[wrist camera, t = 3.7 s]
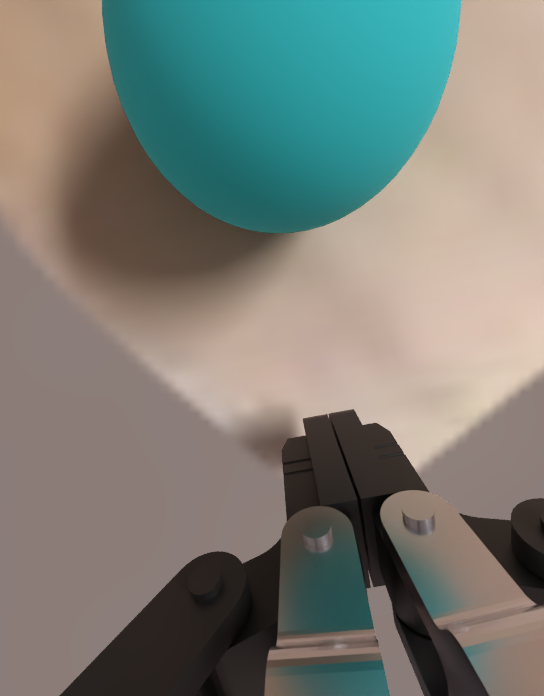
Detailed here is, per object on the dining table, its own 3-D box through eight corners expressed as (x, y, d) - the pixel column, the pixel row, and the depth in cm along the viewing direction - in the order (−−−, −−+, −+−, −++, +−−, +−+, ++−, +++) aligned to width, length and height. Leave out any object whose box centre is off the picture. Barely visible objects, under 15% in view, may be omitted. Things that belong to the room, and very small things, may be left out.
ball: (140, 193, 10) (-32, 127, 4) (196, -66, 8) (41, -754, 3) (337, 264, 11) (421, 289, 5) (425, 35, 9) (709, -335, 3)
